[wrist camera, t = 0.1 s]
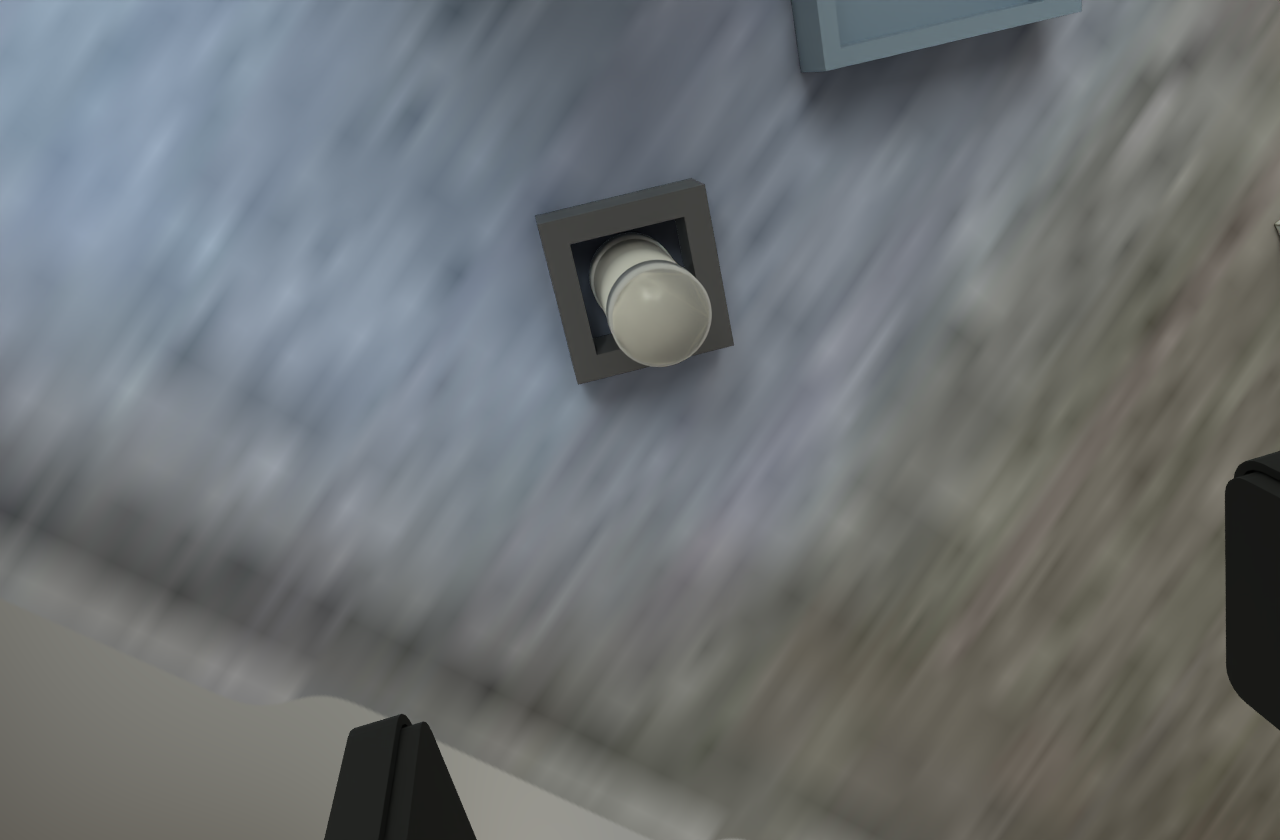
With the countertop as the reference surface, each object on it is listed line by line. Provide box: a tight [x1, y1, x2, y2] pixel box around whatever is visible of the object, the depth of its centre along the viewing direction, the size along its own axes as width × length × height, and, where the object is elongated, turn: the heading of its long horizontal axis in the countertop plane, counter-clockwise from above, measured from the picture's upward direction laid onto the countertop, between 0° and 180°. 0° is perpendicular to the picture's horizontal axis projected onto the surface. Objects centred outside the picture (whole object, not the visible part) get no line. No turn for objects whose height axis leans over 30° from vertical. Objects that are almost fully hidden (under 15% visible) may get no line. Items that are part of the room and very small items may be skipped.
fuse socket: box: [535, 178, 734, 384], centre depth 44 cm, size 8×8×3 cm
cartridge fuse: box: [589, 232, 712, 367], centre depth 41 cm, size 4×4×9 cm
